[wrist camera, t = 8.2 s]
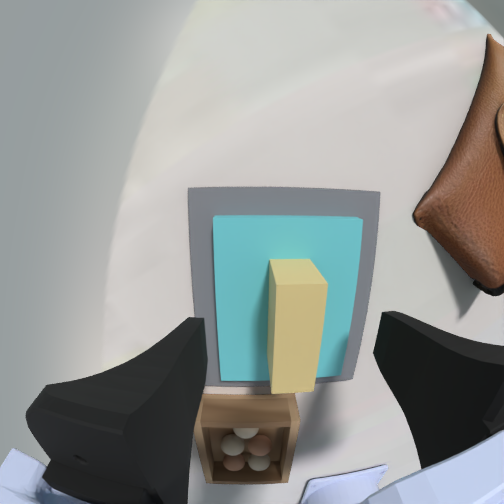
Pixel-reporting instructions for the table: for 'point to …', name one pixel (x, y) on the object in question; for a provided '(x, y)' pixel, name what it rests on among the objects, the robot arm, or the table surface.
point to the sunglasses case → (474, 184)
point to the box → (247, 437)
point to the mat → (276, 203)
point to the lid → (284, 296)
